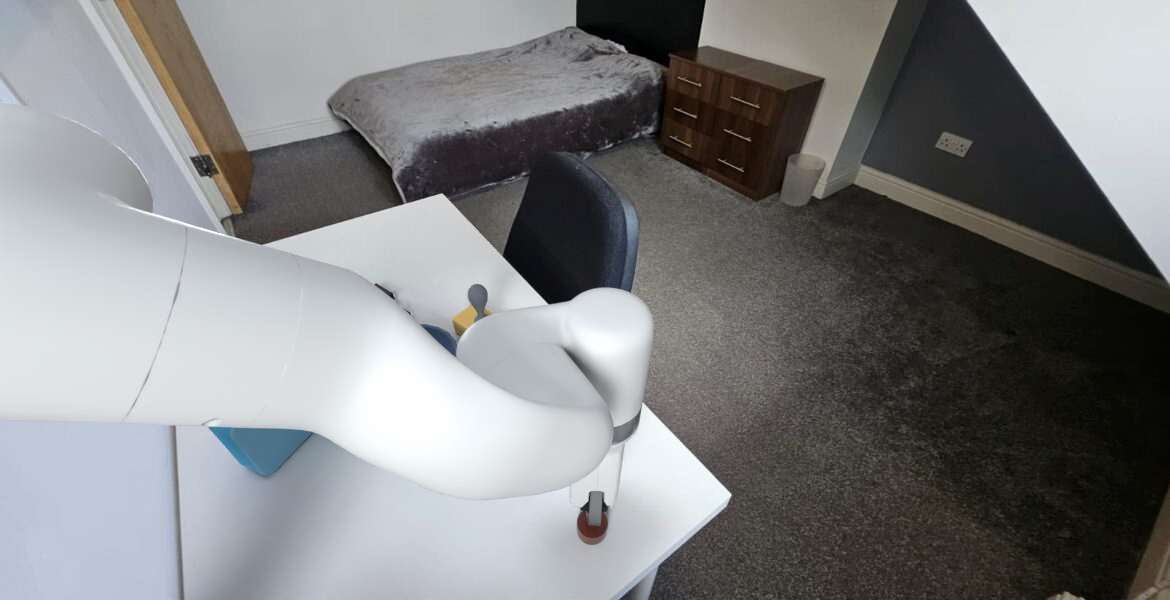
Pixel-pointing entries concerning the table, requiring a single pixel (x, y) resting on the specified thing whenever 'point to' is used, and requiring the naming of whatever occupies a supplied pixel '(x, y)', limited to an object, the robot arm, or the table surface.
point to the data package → (261, 445)
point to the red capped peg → (591, 529)
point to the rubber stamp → (472, 309)
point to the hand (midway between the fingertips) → (594, 498)
